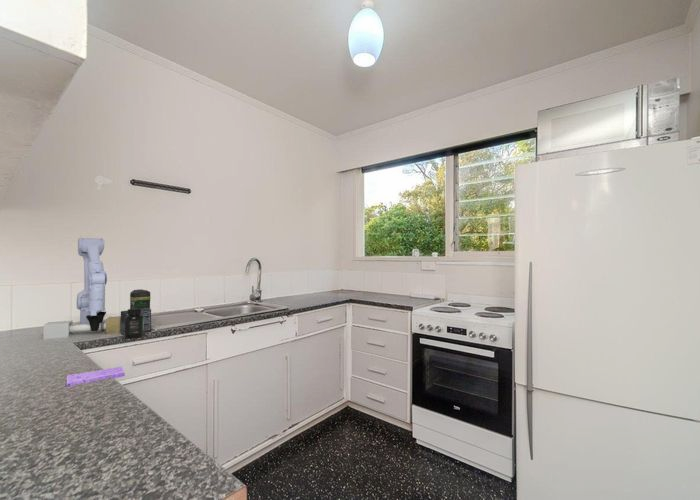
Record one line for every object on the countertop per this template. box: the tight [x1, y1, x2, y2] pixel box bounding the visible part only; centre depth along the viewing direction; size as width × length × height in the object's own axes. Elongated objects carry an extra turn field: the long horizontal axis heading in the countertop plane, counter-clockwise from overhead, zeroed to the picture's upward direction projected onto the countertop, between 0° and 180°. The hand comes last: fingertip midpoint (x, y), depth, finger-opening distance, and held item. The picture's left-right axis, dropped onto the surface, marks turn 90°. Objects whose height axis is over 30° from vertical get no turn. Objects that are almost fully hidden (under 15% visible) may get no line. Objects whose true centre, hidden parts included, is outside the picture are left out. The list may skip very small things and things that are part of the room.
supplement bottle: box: [123, 308, 145, 339], centre depth 138 cm, size 7×7×12 cm
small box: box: [120, 308, 152, 336], centre depth 146 cm, size 11×6×10 cm, turn 144°
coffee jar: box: [129, 289, 151, 309], centre depth 159 cm, size 10×8×19 cm
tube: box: [69, 321, 106, 334], centre depth 143 cm, size 18×4×4 cm, turn 119°
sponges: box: [66, 366, 126, 387], centre depth 90 cm, size 7×13×2 cm, turn 130°
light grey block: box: [42, 320, 74, 341], centre depth 138 cm, size 8×6×6 cm
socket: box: [105, 315, 121, 335], centre depth 148 cm, size 5×7×6 cm
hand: (96, 329), depth 145 cm, fingers open, 7 cm apart
